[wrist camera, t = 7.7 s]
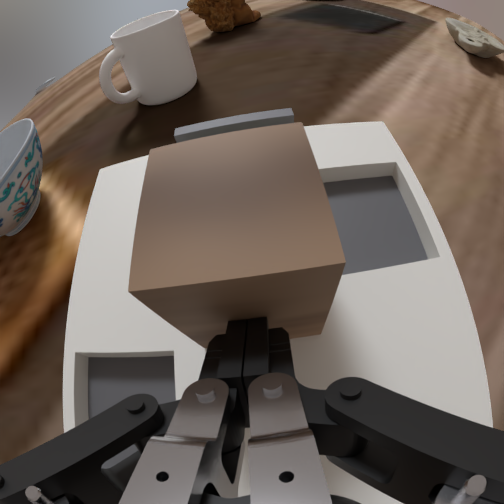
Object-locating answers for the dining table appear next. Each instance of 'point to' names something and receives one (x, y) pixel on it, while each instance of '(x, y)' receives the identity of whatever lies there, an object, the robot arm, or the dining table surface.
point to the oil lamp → (473, 39)
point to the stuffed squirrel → (223, 13)
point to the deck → (341, 312)
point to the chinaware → (19, 176)
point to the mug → (151, 60)
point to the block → (236, 234)
